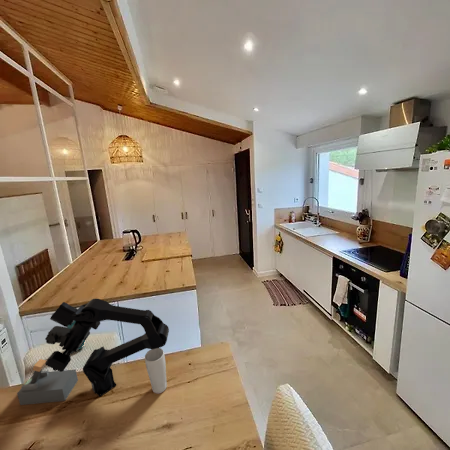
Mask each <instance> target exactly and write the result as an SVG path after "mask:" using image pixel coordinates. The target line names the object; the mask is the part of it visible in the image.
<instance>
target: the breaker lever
mask: <svg viewBox="0 0 450 450" xmlns="http://www.w3.org/2000/svg"><path fill="white" fill-rule="evenodd" d="M46 361H47V359H46V360H45V359H42V358H40V359H38V360H37V362H36V363H35V364H34V365H33V367H32V371H33V373H34V374H33V373H32V376H33V377H32V376H31V377H32V381H31V384H35V383H36V382H37V380H38V379H39V378H40V375H41V371H43V368H44V367H46V366H47V365H46V364H45V363H46Z"/></svg>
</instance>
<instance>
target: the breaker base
mask: <svg viewBox="0 0 450 450" xmlns="http://www.w3.org/2000/svg"><path fill="white" fill-rule="evenodd" d="M33 374H34V372H32V375H31V377H29V378H28V380H27V381H25V383H24V384H22V385H21V388H20V389H19V390H18V391H17V392H16V394H17V398H18V402H19V405H20V406H23V405H24V406H25V405H34V404H44V403H56V402H65V401H66V400H67V398H68V397H69V395H70V393H71V392H72V390H73V389H74V388H75V386H76V384H77V383H78V381H79V379H78V373H77V369H75V368H74V369H64V371H62V372H60V371H58V370H57V371H54V370H52V371H49V370H42V371H41V375H40V378H39V379H38V380H37V382H36V383H35V384H31V381H32V377H33Z"/></svg>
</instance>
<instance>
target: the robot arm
mask: <svg viewBox="0 0 450 450" xmlns="http://www.w3.org/2000/svg"><path fill="white" fill-rule="evenodd" d="M76 308H77V307H74V306H72V305H71V304H69V303H67V302H65V301H63V302H62V303H61V304H60V305H59V307H58V308H57V309H56V310H55V311H54V313H52V315H51V316H50V318H49V320H51V321H53V322H55V323H56V324H59V325H56V326H55V325H54V326H53V327H52V328H51V329H50V331H48V332H47V335H46V337H45V343H46V344H49V345H55V344H58V346H59V347H61V350H62V351H63V352H61V351H59V350H55V351H53V352H52V353H51V355H50V356H48V358H47V359H46V363H45V364H46V365H45V366H47V367H49V368H52V371H60V372H62V371H64V370H66V368H67V367H68V365H69V364H70V362H71V360H72V359H71V355H72V354H73V353H76V352H77V351H78V350H79V349H78V348H80V347H81V346H82V344H83V343H84V341H85V340H86V341H87V339H88V337H89V335H90V334H91V332H90V331H91V329H93V330H97V329H98V328H99V327H100V325H101V322H103V321H104V322H105V321H114V322H121V323H128V324H135V325H140V326H141V327H142V328H143V331H144V334H143V335H140V336H138V337H136V338H133V339H131V340H128V341H126V342H124V343H122V344H120V345H118V346H114V347H113V348H111V349H106V348H105V347H104V346H101V347H100V348H97V349H93V350H92V352H91V354H90V355H89V357H88V358H87V360H86V361H85V364H84V365H83V367H82V372H83V374H84V375H85V377H86V378H87V380H88V381H89V383H91V387H92V392H93V393H94V394H96V396H98V397H99V398H101V397H102V396H103V395H105V394H106V393H108V392H109V391H110V390H112V389H113V388H115V387H116V386H117V383H116V382H115V379H114V374H113V369H112V368H111V367H112V365H113V363H116V362H119V361H120V360H123V359H125V358H127V357H128V358H129V356H132V355H134V354H137V353H140V352H141V351H143V350H146V349H147V350H151V349H156V348H163V347H164V346H165V345H166V344H167V341H168V336H169V331H170V328H169V325H167V324H166V323H164V322H163V320H162V319H161V318H160V317H158V316H156V315H155V314H154V313H153V311H151V310H150V309H145V310H144V309H140V308H139V309H138V308H131V307H126V306H117V305H113V304H111V303H109V302H108V301H106V300H103V299H101V298H91V300H89V301H88V302H87V303H84V304H82V305H80V306H79V307H78V308H77V309H76ZM74 321H76V322H75V324H74V325H73V327H72V328H71V329H69V328H67V326H68V325H71V324H72V323H73V322H74ZM60 325H62V326H60ZM83 340H84V341H83Z"/></svg>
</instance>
